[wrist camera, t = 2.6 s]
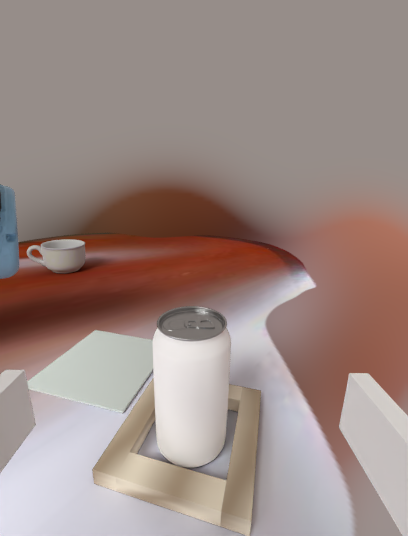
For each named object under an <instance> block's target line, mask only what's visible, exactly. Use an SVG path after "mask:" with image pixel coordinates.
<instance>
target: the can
mask: <svg viewBox="0 0 408 536" xmlns="http://www.w3.org/2000/svg"><path fill="white" fill-rule="evenodd" d="M226 326H227V321H226V319H225V317H224V316H223V315H222V314H221V313H219V312H217V311H215V310H213V309H209V308H205V307H198V306H186V307H179V308H175V309H172V310H169V311H167V312H165V313H163V314H162V315H161V316H160V317H159V319H158V321H157V327H158V328H157V330H156V332H155V334H154V337H153V375H154V398H155V419H156V437H157V444H158V448H159V450H160V452H161V453H162V455H163V456H164V457H165V458H166V459H167V460H168V461H170V462H171V463H173V464H175V465H178V466H181V467H188V468H193V467H199V466H202V465H205V464H207V463H209V462H211V461H212V460H213V459H215V458H216V457H217V456H218V455H219V453H220V452H221V450H222V448H223V446H224V443H225V438H226V426H227V410H228V392H229V374H230V354H231V339H230V335H229V332H228V330H227V328H226Z"/></svg>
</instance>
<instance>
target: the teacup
mask: <svg viewBox="0 0 408 536" xmlns="http://www.w3.org/2000/svg"><path fill="white" fill-rule="evenodd" d="M34 249H37V250H39V251H40V253H41V255H43V260H40V259H37V258H35V257H34V256H33V255H32V254H31V252H32V250H34ZM27 255H28V257H29V258H30V259H31V260H33V261H35V262H37V263H40V264H41V265H42V266H46V267H47V268H48V269H50V270H52V271H53V272H55V273H71V272H75V271H77V270H79V269H80V268H81V267H82V266H83V265H84V264H85V243H84V242H83V241H80V240H53V241H48V242H45V243H43V244H41V247H40V246H35V245H34V246H31V247H29V248H28V250H27Z"/></svg>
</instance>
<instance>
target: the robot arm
mask: <svg viewBox="0 0 408 536" xmlns="http://www.w3.org/2000/svg"><path fill="white" fill-rule="evenodd" d="M18 269H19V249H18V233H17V219H16V204H15V193H14V190H13V189H12V188H10V187H7V186H3V185H1V184H0V279H2V278H8V277H11V276H13V275H14V274H15V273H16V272H17V271H18ZM35 425H36V423H35V418H34V413H33V408H32V403H31V398H30V393H29V388H28V383H27V378H26V374H25V370H5V371H4V372H3V373H1V374H0V473H1V471H2V470H3V469H4V467H5V466H6V465H7V463H8V462H9V460H10V459H11V458H12V456H13V455H14V454H15V452H16V451H17V450H18V448H19V447H20V446H21V444H22V443H23V441H24V440H25V439H26V437H27V436H28V435H29V433H30V432H31V431H32V429H33V428H34V426H35ZM339 428H340V430H341V432H342V433H343V435H344V437H345V439H346V440H347V442H348V444H349V445H350V447H351V449H352V450H353V452H354V454H355V456H356V457H357V459H358V461H359V462H360V464H361V466H362V468H363V469H364V471H365V473H366V474H367V476H368V478H369V480H370V481H371V483H372V485H373V486H374V488H375V490H376V492H377V493H378V495H379V497H380V498H381V500H382V502H383V504H384V505H385V507H386V509H387V510H388V512H389V513H390V516H391V517H392V519H393V521H394V522H395V524H396V526H397V527H398V529H399V531H400V533H401V534H402V536H408V416H407V415H406V414H405V413H404V411H403V410H402V409H401V408H400V407H399V406H398V405H397V404H396V403H395V402H394V401H393V400H392V399H391V397H390V396H389V395H388V394H387V393H386V392H385V391H384V390H383V389H382V388H381V387H380V386H379V385H378V383H377V382H376V381H375V380H374V379H373V378H372V377H371V376H370V375H369V374H368V373H349V378H348V383H347V388H346V394H345V399H344V405H343V409H342V414H341V420H340V425H339Z"/></svg>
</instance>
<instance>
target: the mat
mask: <svg viewBox="0 0 408 536" xmlns="http://www.w3.org/2000/svg"><path fill="white" fill-rule="evenodd" d="M152 371H153V340H150V339H144V338H138V337H133V336H127V335H121V334H115V333H110V332H104V331H98V330H95V331H94V332H92V333H91V334H90V335H88V336H87V337H86V338H84V339H83V340H82V341H80V342H79V343H78V344H76V345H75V346H74V347H72V348H71V349H70V350H68V351H67V352H66V353H64V354H63V355H62V356H60V357H59V358H58V359H56V360H55V361H54V362H52V363H51V364H50V365H48V366H47V367H46V368H44V369H43V370H42V371H41V372H39V373H38V374H37V375H35V376H34V377H33V378H31V379H30V380H29V381H27V383H28V388H29V390H33V391H37V392H41V393H45V394H49V395H53V396H57V397H60V398H64V399H68V400H72V401H76V402H80V403H84V404H88V405H92V406H96V407H100V408H103V409H107V410H111V411H115V412H119V413H124V411H125V410H126V409H127V407H128V406H129V404H130V403H131V401H132V400H133V398H134V397H135V396H136V394H137V393H138V391H139V390H140V388H141V387H142V386H143V384H144V383H145V381H146V380H147V378H148V377H149V375H150V374H151V373H152Z"/></svg>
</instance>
